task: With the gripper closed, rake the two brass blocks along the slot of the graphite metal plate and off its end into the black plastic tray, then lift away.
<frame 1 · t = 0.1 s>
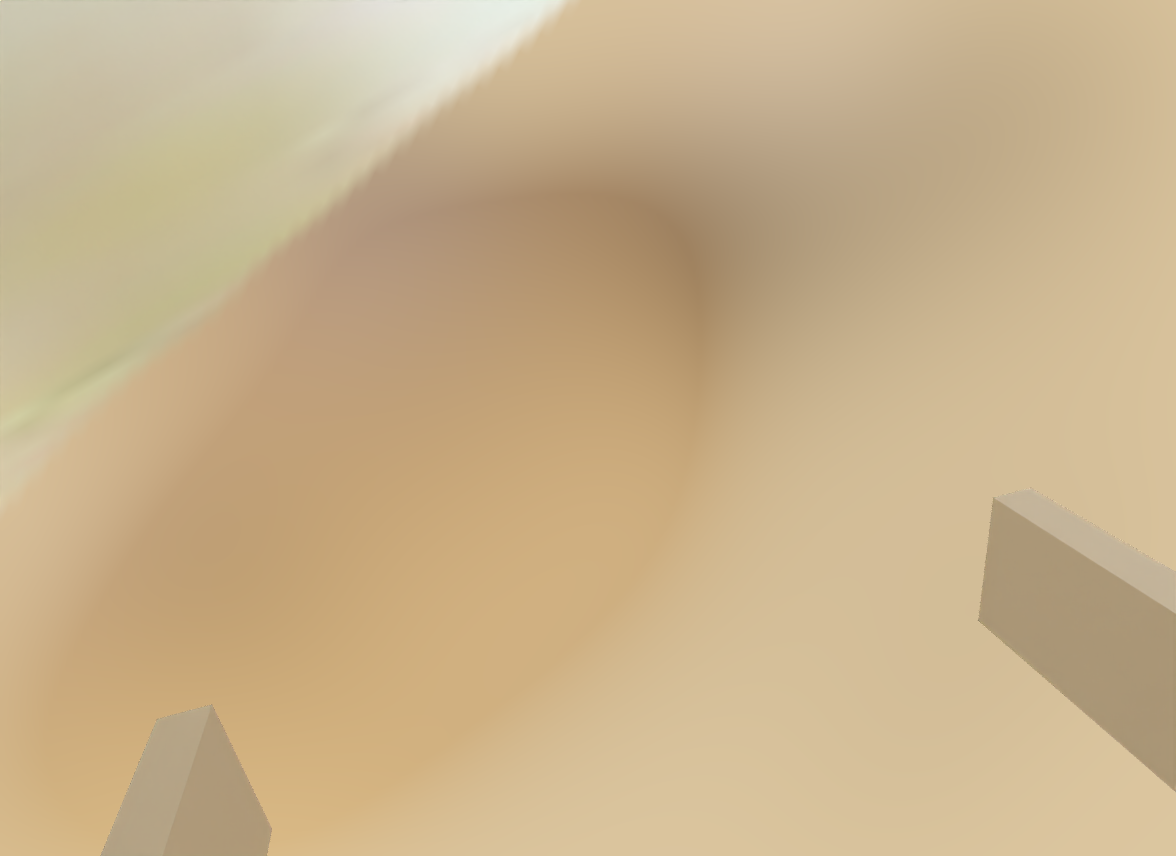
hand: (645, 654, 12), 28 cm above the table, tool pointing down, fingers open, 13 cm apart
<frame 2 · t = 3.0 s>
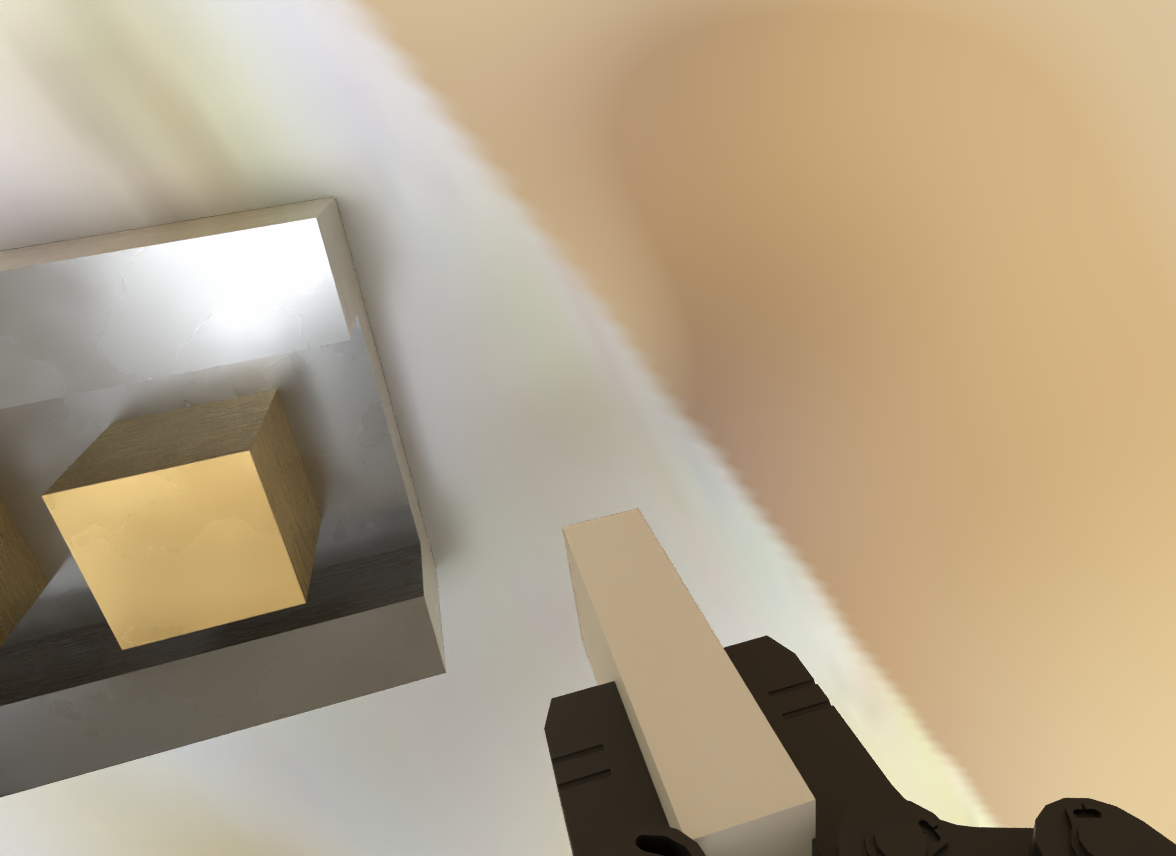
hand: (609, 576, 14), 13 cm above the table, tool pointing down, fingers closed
slot plate: (82, 469, 23), on the table
brass block A: (223, 473, 21), point 3 cm above the table, touching slot plate
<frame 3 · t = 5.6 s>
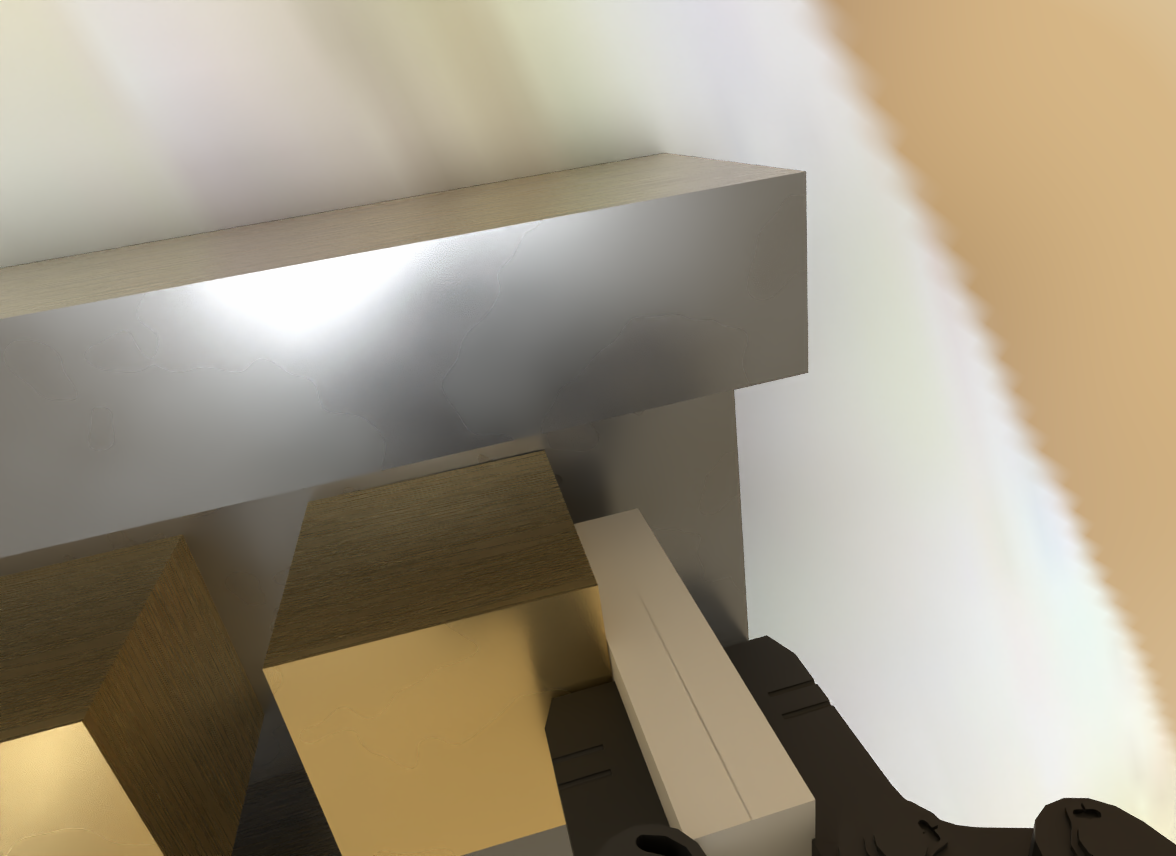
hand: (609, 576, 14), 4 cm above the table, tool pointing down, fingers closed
slot plate: (288, 539, 17), on the table
brass block B: (103, 661, 14), point 3 cm above the table, touching slot plate
brass block A: (453, 571, 15), point 3 cm above the table, touching gripper, slot plate
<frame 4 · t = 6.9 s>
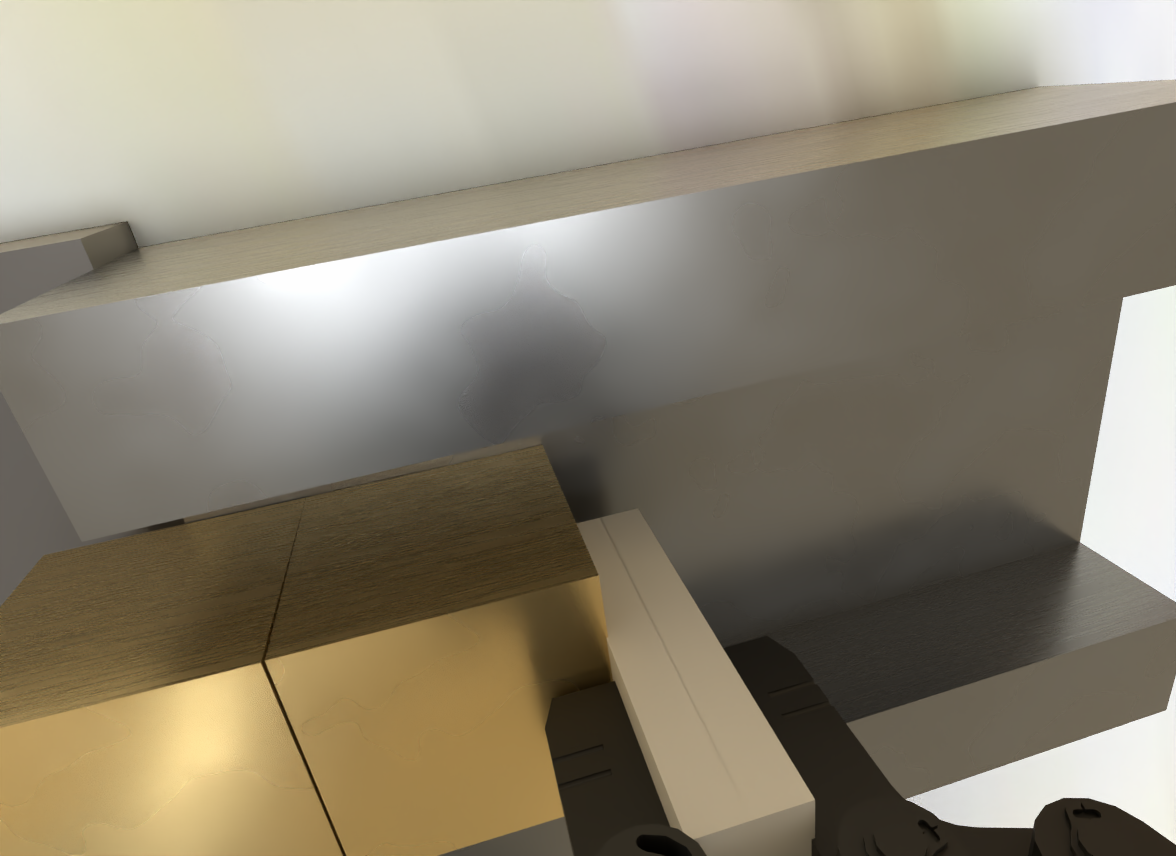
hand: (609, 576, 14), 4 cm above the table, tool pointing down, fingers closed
slot plate: (666, 448, 18), on the table
brass block B: (221, 623, 14), point 3 cm above the table
brass block A: (452, 566, 15), point 3 cm above the table, touching gripper
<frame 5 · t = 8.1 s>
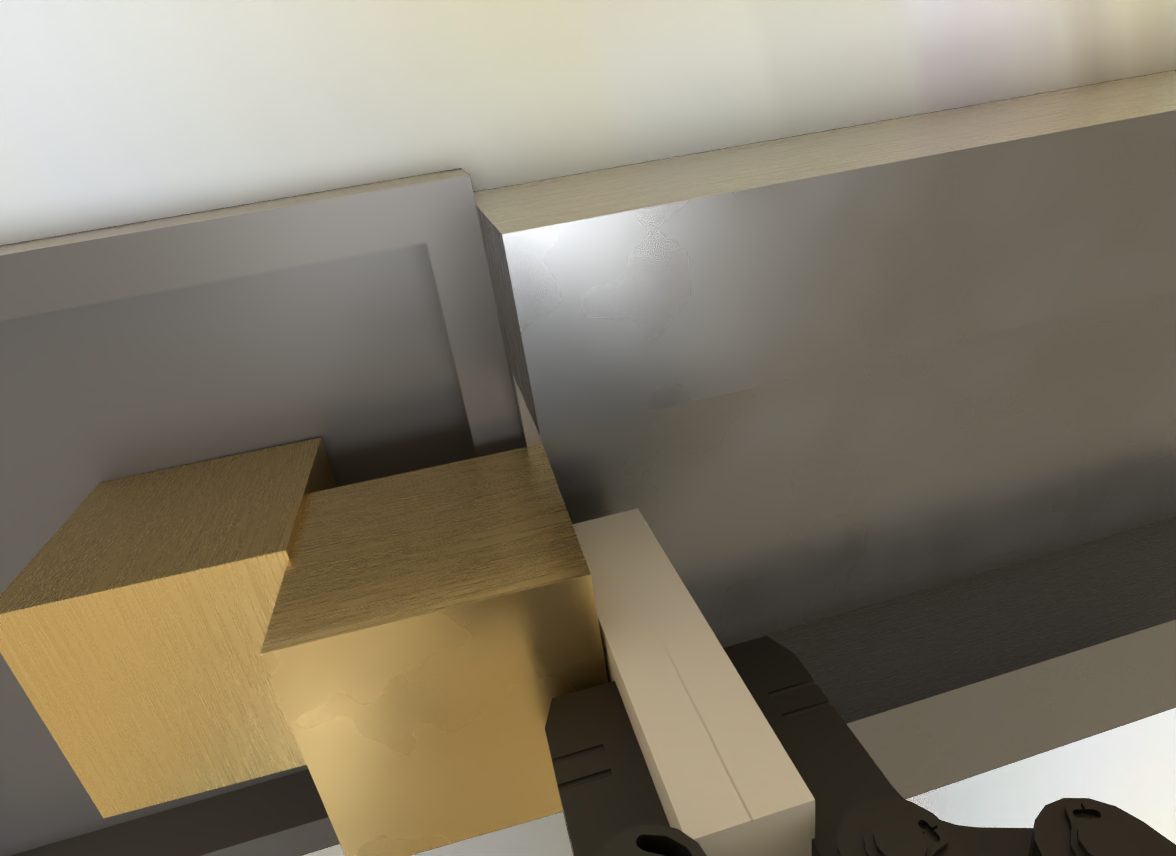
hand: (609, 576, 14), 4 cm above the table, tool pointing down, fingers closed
slot plate: (887, 398, 19), on the table
brass block B: (339, 582, 14), point 3 cm above the table, tilted 91°, touching brass block A
brass block A: (452, 563, 15), point 3 cm above the table, touching brass block B, gripper
tray: (187, 566, 16), on the table
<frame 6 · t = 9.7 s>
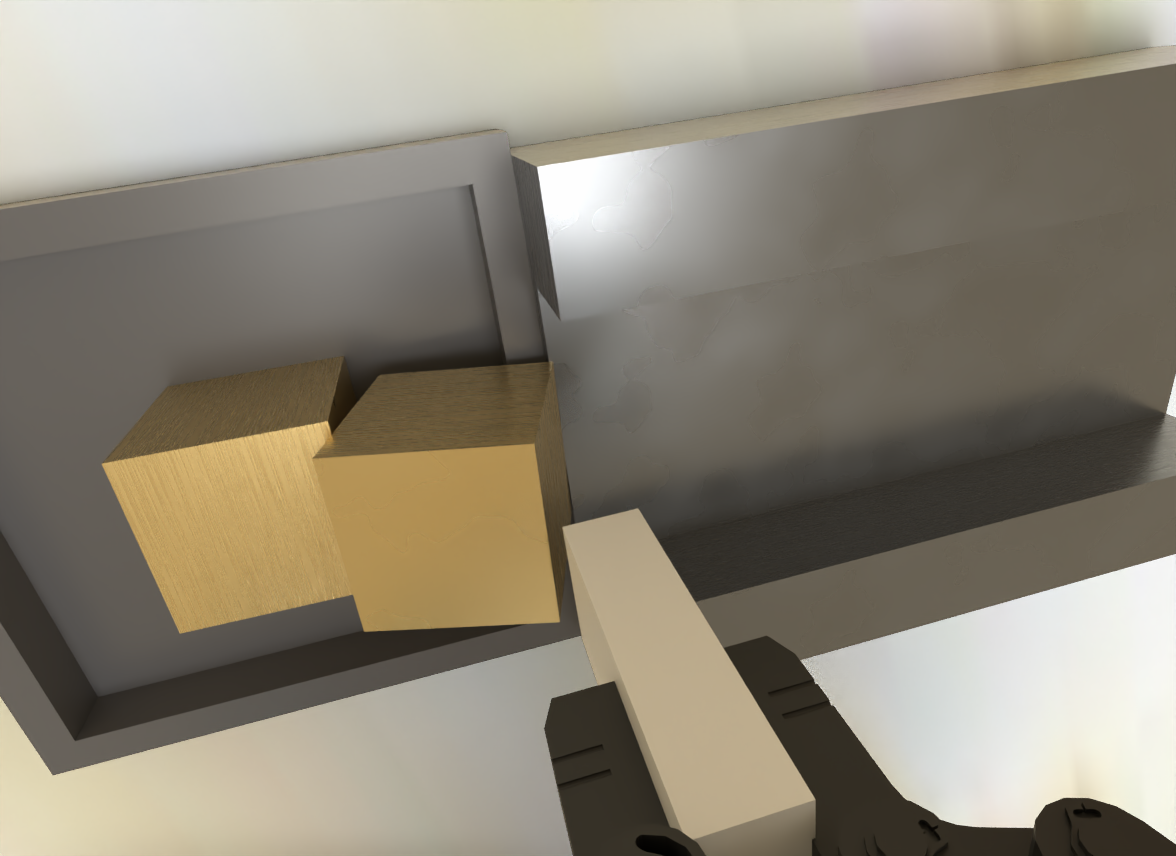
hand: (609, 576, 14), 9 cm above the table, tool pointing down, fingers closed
slot plate: (844, 331, 23), on the table
brass block B: (359, 465, 18), point 3 cm above the table, tilted 90°, touching brass block A, tray
brass block A: (479, 446, 19), point 2 cm above the table, tilted 15°, touching brass block B, slot plate
tray: (269, 452, 20), on the table
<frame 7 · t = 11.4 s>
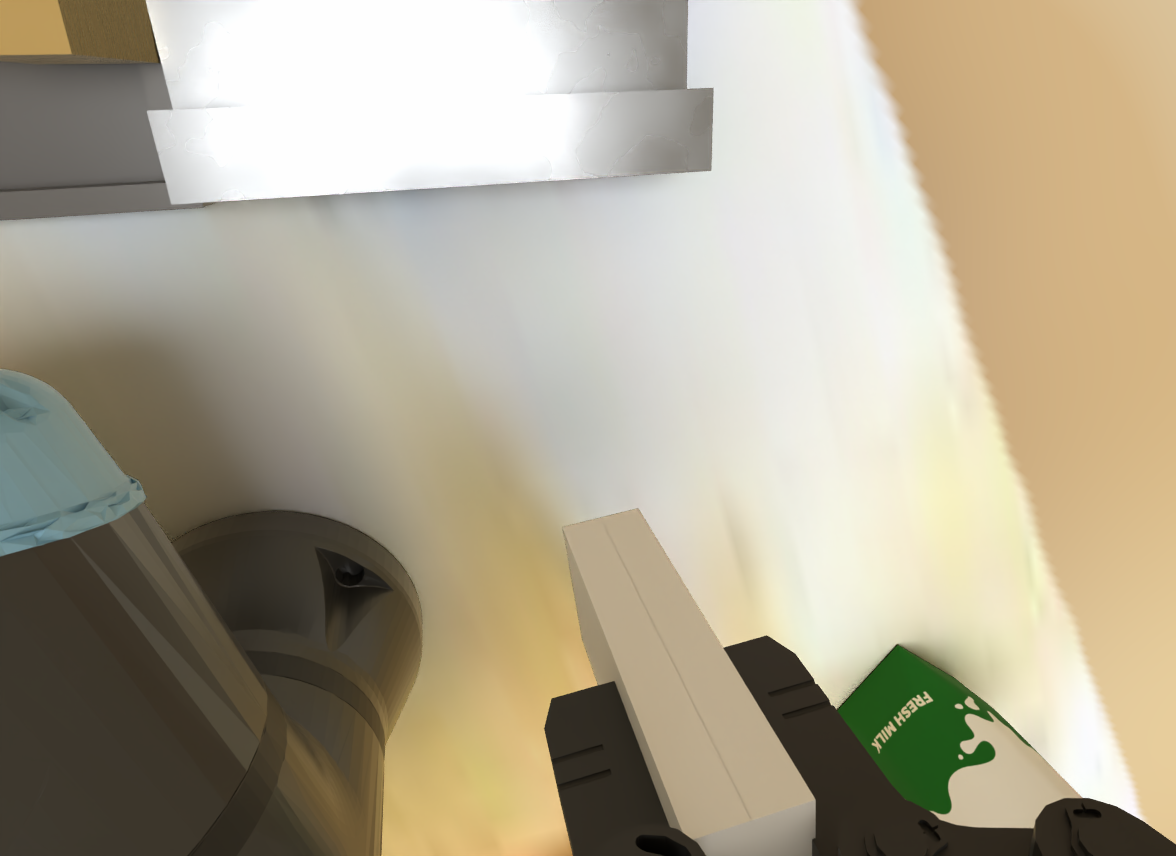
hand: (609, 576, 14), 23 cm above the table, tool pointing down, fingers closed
milk carton: (893, 693, 53), on the table
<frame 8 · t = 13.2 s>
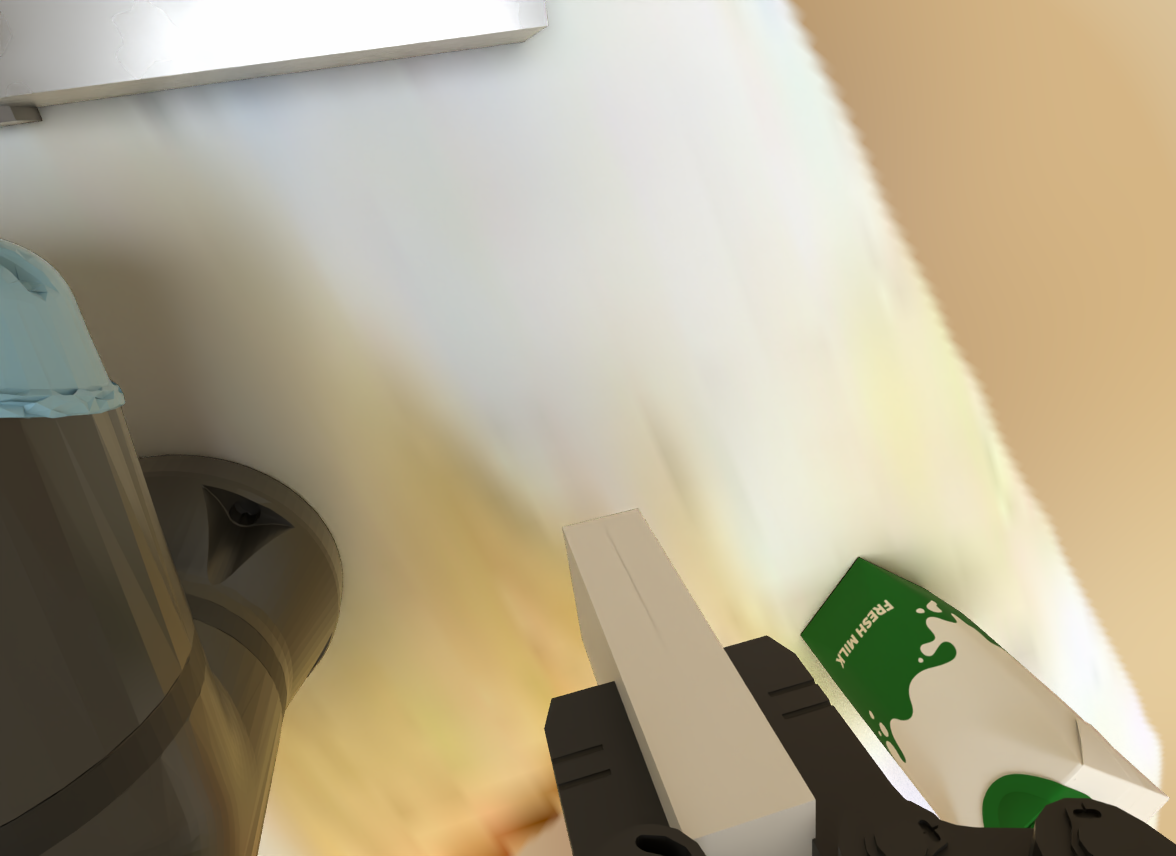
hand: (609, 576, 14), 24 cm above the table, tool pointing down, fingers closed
milk carton: (862, 610, 51), on the table
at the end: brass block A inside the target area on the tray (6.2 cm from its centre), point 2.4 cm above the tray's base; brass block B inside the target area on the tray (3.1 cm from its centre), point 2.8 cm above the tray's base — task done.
